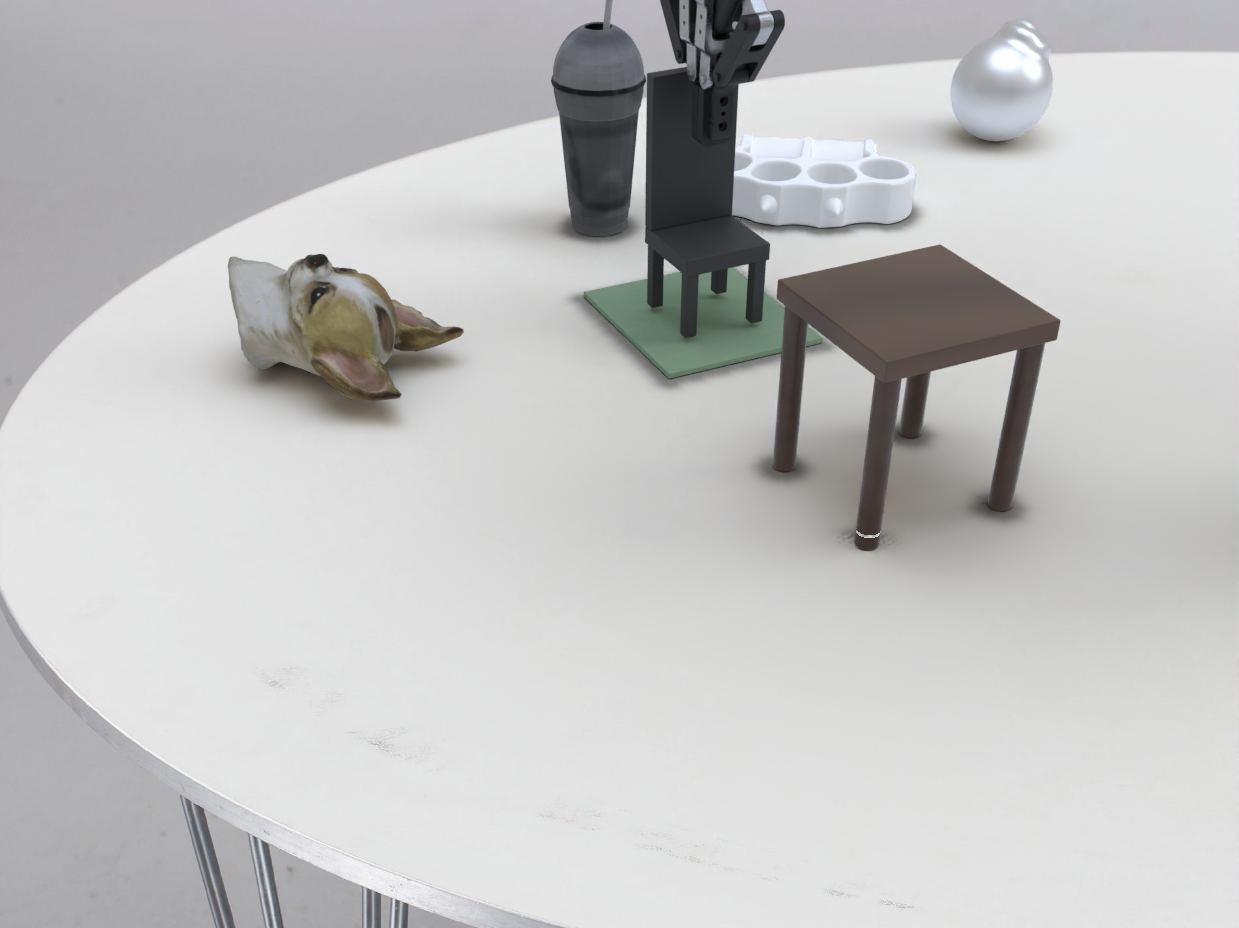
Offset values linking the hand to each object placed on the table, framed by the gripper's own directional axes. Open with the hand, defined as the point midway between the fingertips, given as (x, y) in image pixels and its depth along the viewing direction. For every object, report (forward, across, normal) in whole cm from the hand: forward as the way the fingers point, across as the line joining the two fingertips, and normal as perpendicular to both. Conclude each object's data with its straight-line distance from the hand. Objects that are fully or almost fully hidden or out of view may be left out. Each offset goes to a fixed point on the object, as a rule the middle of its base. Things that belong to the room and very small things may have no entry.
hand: (710, 141), depth 95 cm
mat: (+13, +1, 0) cm, 13 cm away
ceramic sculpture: (+14, +5, +26) cm, 29 cm away
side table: (+13, -23, 0) cm, 27 cm away
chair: (+13, 0, 0) cm, 13 cm away
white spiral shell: (+13, +22, -42) cm, 49 cm away
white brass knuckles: (+13, +17, -18) cm, 28 cm away
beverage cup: (+13, +20, -1) cm, 24 cm away
